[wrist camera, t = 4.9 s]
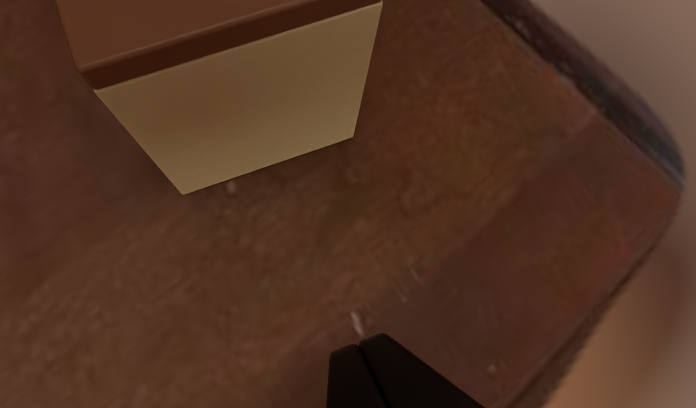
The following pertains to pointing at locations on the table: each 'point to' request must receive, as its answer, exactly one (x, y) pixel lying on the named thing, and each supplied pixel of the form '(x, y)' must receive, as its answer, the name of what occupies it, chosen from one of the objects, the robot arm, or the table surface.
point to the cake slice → (225, 77)
